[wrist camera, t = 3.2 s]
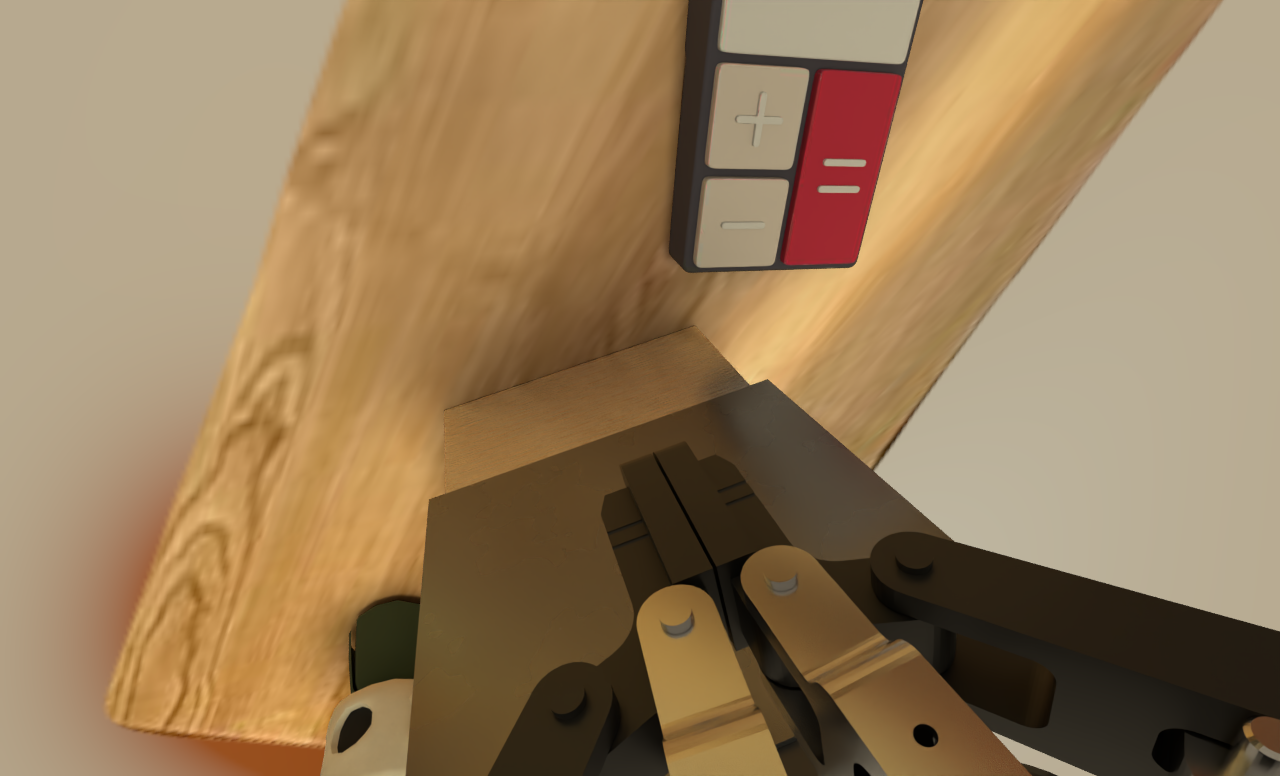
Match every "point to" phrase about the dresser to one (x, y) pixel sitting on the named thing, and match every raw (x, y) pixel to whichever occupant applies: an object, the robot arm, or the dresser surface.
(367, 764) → the character mug
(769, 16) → the calculator
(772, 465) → the lid
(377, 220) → the dresser surface
